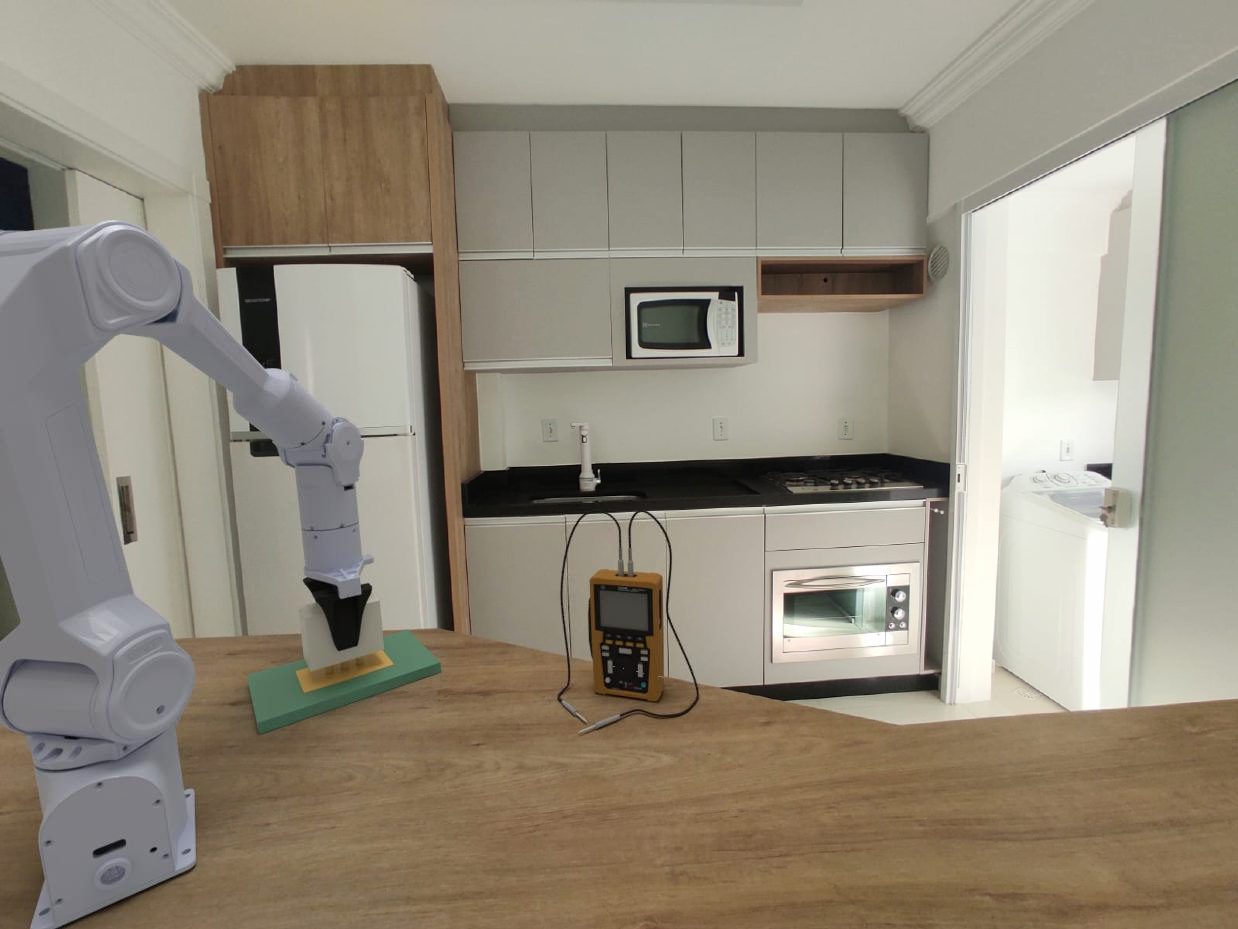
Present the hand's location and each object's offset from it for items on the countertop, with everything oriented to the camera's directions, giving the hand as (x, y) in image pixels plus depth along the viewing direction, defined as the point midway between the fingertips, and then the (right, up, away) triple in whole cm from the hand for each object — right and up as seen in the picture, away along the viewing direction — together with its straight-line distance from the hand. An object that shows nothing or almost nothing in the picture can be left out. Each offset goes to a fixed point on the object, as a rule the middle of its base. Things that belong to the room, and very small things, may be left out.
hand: (342, 640), depth 62 cm
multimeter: (+32, -5, -7) cm, 33 cm away
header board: (0, -5, +1) cm, 5 cm away
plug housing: (0, -2, 0) cm, 2 cm away
